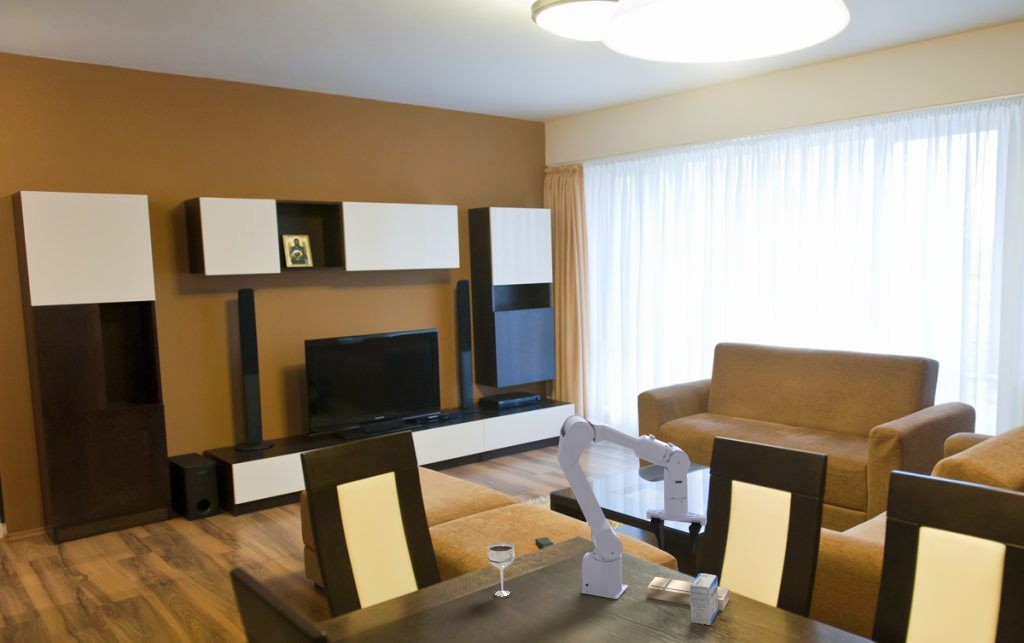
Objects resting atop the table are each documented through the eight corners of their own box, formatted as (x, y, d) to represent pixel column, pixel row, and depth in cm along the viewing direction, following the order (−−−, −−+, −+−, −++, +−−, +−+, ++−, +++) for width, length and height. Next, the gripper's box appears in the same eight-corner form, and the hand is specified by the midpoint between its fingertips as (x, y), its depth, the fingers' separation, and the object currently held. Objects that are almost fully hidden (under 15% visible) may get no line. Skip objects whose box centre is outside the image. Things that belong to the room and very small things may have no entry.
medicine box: (710, 626, 168) (710, 588, 168) (690, 622, 171) (689, 584, 170) (718, 612, 175) (717, 575, 175) (698, 608, 178) (698, 572, 177)
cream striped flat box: (647, 597, 184) (647, 586, 184) (655, 586, 190) (655, 576, 190) (723, 610, 176) (722, 599, 176) (729, 598, 182) (729, 587, 182)
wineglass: (510, 601, 184) (508, 553, 183) (484, 598, 187) (482, 550, 186) (520, 590, 190) (518, 543, 190) (495, 587, 193) (493, 540, 192)
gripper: (642, 497, 188) (643, 551, 189) (701, 503, 181) (702, 559, 182) (650, 489, 194) (651, 542, 195) (708, 495, 188) (709, 549, 189)
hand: (676, 550), depth 189 cm, fingers open, 7 cm apart
